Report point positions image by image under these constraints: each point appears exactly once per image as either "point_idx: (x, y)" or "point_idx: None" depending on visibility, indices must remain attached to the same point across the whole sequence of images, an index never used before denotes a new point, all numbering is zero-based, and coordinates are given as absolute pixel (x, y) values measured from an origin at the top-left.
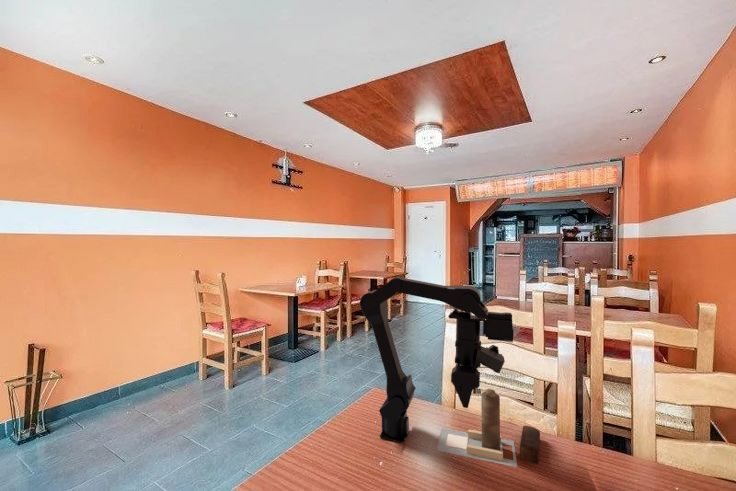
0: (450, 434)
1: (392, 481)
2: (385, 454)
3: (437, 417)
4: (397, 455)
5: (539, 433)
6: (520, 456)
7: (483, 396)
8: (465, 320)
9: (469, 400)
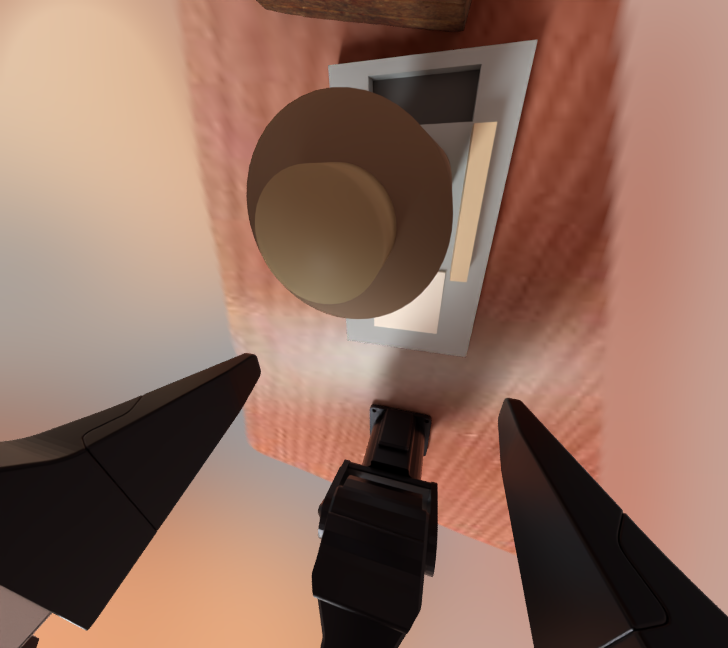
0: (376, 320)
1: (588, 438)
2: (482, 445)
3: (287, 341)
4: (482, 425)
5: None
6: (464, 14)
7: (379, 302)
8: None
9: (576, 462)
